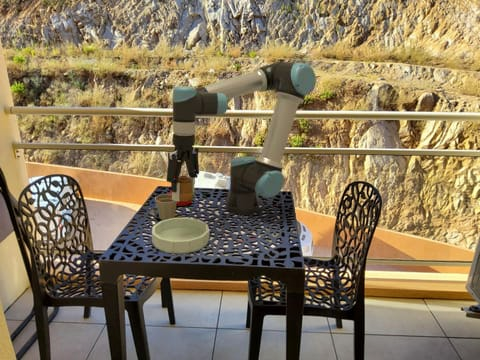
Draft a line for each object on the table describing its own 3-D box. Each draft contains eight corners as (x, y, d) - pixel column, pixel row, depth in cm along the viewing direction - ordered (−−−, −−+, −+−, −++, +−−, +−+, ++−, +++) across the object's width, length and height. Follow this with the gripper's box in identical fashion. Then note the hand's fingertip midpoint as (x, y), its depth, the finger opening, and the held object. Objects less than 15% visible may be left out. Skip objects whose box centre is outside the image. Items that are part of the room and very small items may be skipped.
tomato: (175, 209, 168) (175, 195, 166) (165, 201, 176) (165, 187, 174) (195, 205, 173) (195, 191, 171) (185, 197, 181) (185, 184, 179)
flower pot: (173, 223, 153) (173, 203, 151) (151, 220, 155) (150, 200, 152) (181, 214, 162) (181, 195, 159) (160, 212, 164) (160, 193, 161)
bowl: (205, 227, 151) (206, 216, 149) (211, 251, 132) (211, 240, 131) (153, 229, 147) (153, 218, 146) (151, 255, 129) (150, 242, 127)
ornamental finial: (192, 202, 133) (170, 201, 133) (195, 195, 140) (174, 194, 140) (192, 180, 131) (170, 179, 131) (195, 174, 138) (174, 173, 138)
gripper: (193, 128, 140) (192, 188, 147) (154, 135, 124) (155, 202, 130) (210, 131, 137) (208, 192, 143) (172, 139, 120) (172, 207, 127)
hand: (183, 197), depth 137 cm, fingers closed on ornamental finial, 7 cm apart
